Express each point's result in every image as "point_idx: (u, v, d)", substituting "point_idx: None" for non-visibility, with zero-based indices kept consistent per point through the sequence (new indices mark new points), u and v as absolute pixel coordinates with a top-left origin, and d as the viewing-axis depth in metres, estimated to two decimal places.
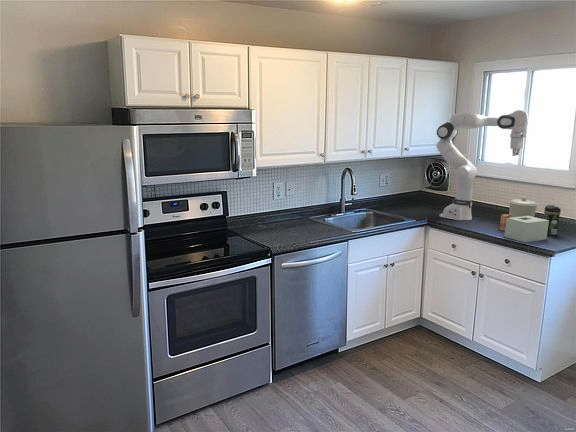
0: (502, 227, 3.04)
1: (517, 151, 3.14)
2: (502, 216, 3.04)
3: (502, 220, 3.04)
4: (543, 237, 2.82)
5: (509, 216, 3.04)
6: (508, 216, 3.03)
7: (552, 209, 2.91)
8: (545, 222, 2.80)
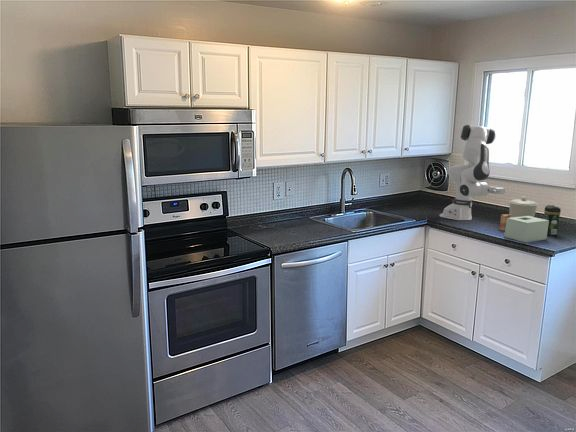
0: (502, 227, 3.04)
1: None
2: (502, 216, 3.04)
3: (502, 220, 3.04)
4: (543, 237, 2.82)
5: (509, 216, 3.04)
6: (508, 216, 3.03)
7: (552, 209, 2.91)
8: (545, 222, 2.80)
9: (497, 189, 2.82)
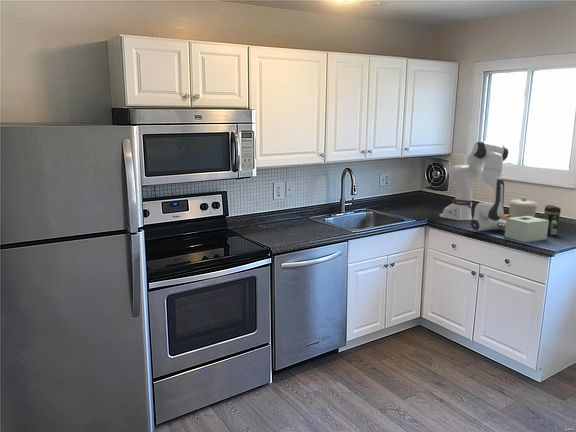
0: None
1: None
2: None
3: None
4: (543, 237, 2.82)
5: (509, 216, 3.04)
6: (508, 216, 3.03)
7: (552, 209, 2.91)
8: (545, 222, 2.80)
9: None
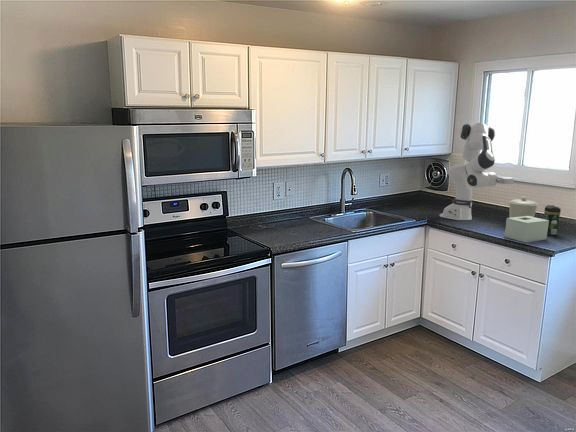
0: None
1: None
2: None
3: None
4: (543, 237, 2.82)
5: None
6: None
7: (552, 209, 2.91)
8: (545, 222, 2.80)
9: (505, 179, 2.76)
